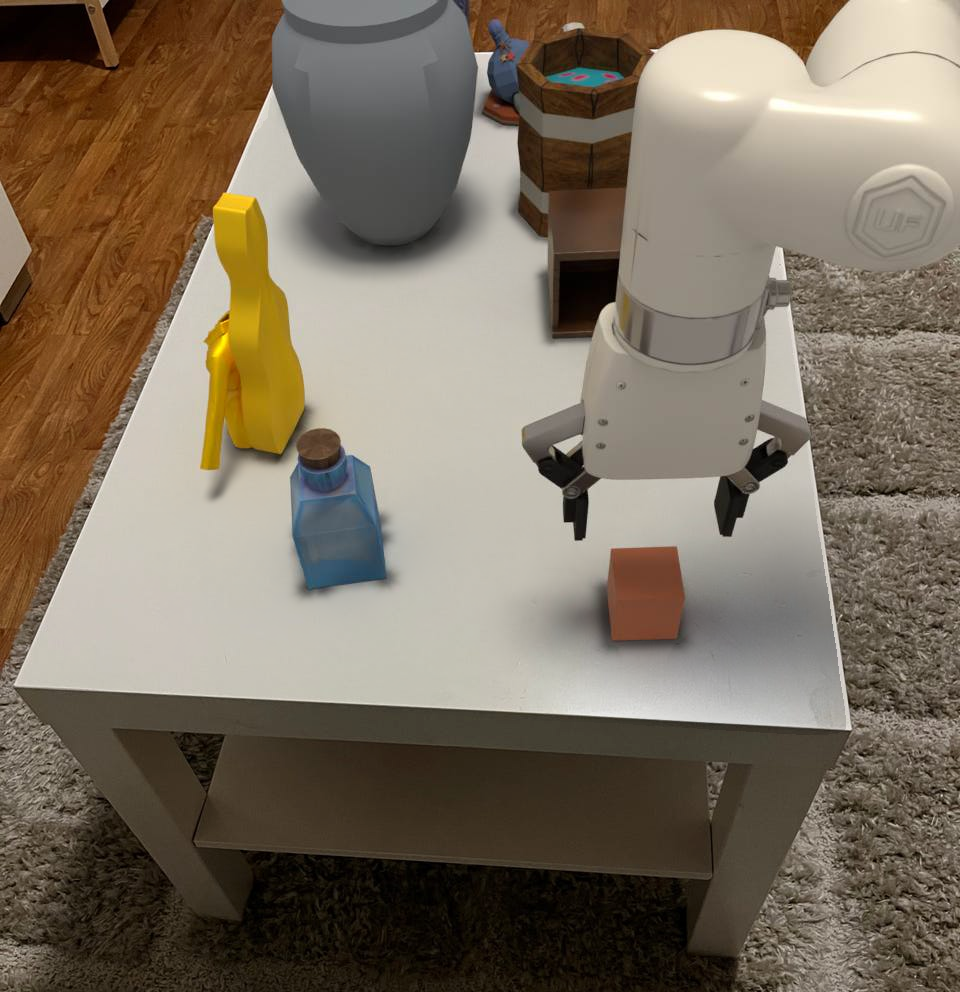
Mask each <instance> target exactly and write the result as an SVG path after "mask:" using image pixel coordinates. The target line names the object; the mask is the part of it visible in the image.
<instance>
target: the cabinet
mask: <svg viewBox="0 0 960 992" xmlns="http://www.w3.org/2000/svg"><path fill="white" fill-rule="evenodd" d="M626 189H627V187H625V188H604V189H582V190H561V191H549V192H548V237H547V259H546V260H547V261H546V262H547V263H546V264H547V268H546V269H547V271H546V278H547V288H548V290H547V291H548V301H549V303H548V304H549V315H550V325H551V337H552V339H561V338H562V339H566V338H567V339H568V338H585V337H586V338H588V337H593V333H594V330H595V327H596V324H597V321H598V318H599V316H600V313H601V311H602V310H603V308H604V307H605V306H607V305H608V304H610V303H614V302H615V301H616V291H617V281H618V272H619V262H620V250H621V241H622V231H623V220H624V209H625V199H626Z"/></svg>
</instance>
